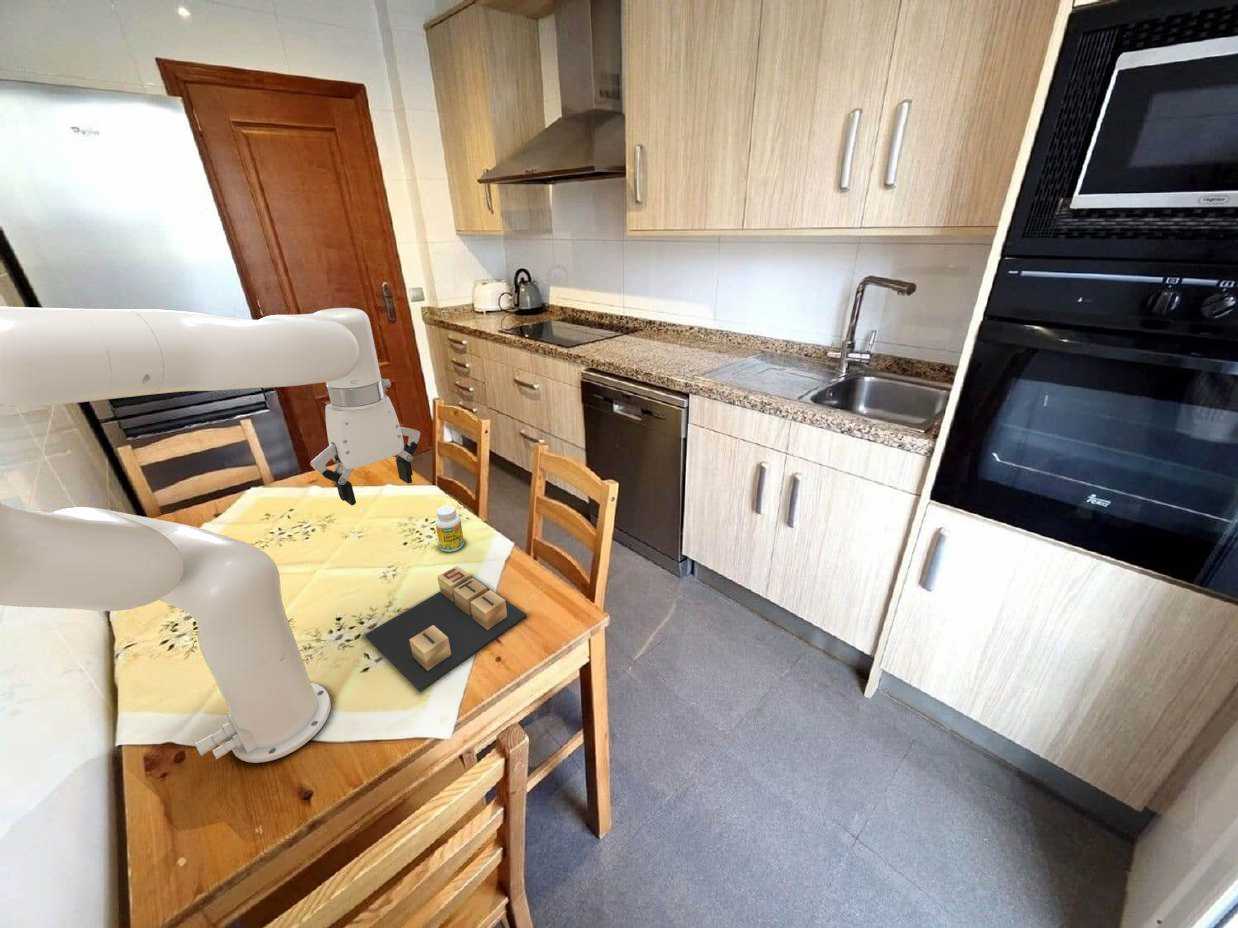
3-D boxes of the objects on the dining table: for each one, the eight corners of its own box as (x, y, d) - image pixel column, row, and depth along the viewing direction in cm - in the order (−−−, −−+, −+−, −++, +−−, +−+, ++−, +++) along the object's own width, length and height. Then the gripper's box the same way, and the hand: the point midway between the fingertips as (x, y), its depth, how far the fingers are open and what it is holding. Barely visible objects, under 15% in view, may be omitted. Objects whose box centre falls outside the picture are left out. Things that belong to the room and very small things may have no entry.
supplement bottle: (460, 536, 118) (454, 501, 114) (467, 547, 114) (462, 511, 110) (436, 543, 116) (430, 507, 111) (443, 555, 112) (437, 518, 107)
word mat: (420, 691, 80) (419, 689, 79) (365, 636, 90) (365, 634, 90) (526, 616, 95) (526, 614, 94) (469, 576, 105) (469, 574, 105)
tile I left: (427, 671, 82) (423, 652, 81) (413, 657, 85) (408, 639, 83) (451, 654, 86) (448, 636, 84) (436, 641, 88) (433, 624, 86)
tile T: (469, 616, 94) (466, 599, 92) (455, 605, 96) (452, 588, 95) (489, 603, 97) (487, 586, 95) (475, 593, 100) (472, 576, 98)
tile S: (453, 602, 97) (450, 585, 95) (440, 592, 100) (437, 575, 98) (472, 590, 100) (470, 574, 98) (459, 581, 103) (457, 565, 101)
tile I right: (487, 630, 91) (485, 612, 89) (472, 618, 93) (470, 601, 92) (507, 616, 94) (505, 599, 92) (492, 605, 96) (490, 589, 95)
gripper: (397, 376, 85) (414, 467, 92) (285, 401, 73) (314, 503, 80) (422, 385, 80) (437, 479, 88) (306, 413, 68) (335, 520, 76)
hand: (379, 491), depth 84 cm, fingers open, 9 cm apart
